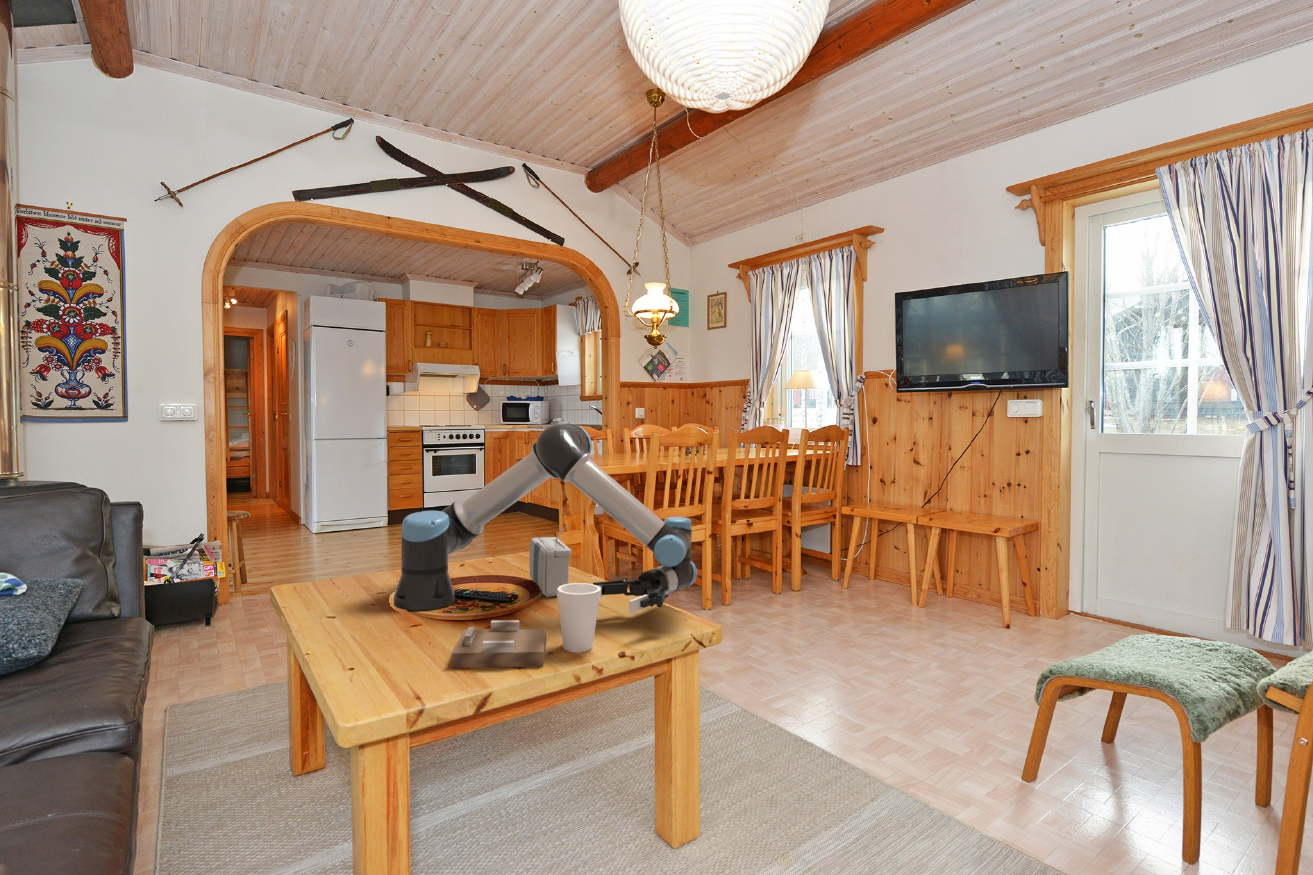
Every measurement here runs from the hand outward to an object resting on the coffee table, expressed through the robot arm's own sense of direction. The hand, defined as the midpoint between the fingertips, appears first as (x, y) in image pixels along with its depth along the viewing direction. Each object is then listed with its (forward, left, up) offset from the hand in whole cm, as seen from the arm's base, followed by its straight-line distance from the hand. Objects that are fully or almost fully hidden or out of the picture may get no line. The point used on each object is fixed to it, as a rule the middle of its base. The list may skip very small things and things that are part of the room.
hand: (606, 601), depth 157 cm
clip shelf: (-22, -11, -8) cm, 26 cm away
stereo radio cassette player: (-14, +42, -8) cm, 45 cm away
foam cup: (-6, -7, -8) cm, 13 cm away
